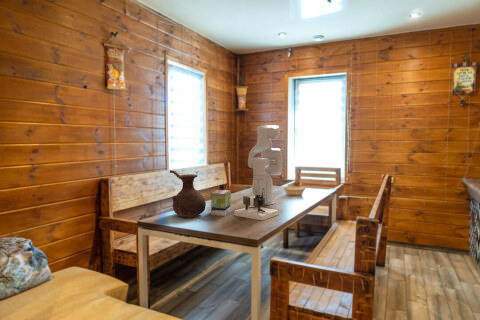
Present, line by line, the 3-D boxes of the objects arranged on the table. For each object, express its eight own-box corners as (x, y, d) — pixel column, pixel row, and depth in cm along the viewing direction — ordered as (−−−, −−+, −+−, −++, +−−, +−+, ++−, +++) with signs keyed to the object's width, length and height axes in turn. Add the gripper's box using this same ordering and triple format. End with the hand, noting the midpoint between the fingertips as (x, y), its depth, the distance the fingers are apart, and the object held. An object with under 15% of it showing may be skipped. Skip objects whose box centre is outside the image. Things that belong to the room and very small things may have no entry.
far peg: (247, 210, 205) (247, 197, 205) (243, 208, 212) (243, 196, 211) (259, 209, 209) (259, 197, 208) (255, 207, 215) (255, 195, 214)
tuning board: (251, 210, 221) (251, 205, 221) (278, 214, 207) (278, 209, 207) (234, 215, 206) (234, 210, 206) (262, 220, 192) (262, 215, 192)
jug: (187, 210, 221) (186, 167, 219) (212, 214, 210) (211, 169, 208) (164, 217, 202) (164, 170, 200) (191, 221, 191) (190, 172, 189)
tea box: (225, 216, 204) (225, 193, 203) (210, 215, 206) (210, 193, 205) (231, 211, 219) (230, 189, 218) (217, 210, 221) (216, 189, 220)
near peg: (253, 210, 205) (253, 198, 204) (263, 209, 208) (263, 197, 207) (259, 213, 197) (259, 200, 196) (269, 212, 199) (269, 199, 199)
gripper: (248, 176, 209) (248, 203, 211) (260, 178, 195) (260, 208, 196) (258, 175, 213) (258, 202, 214) (270, 178, 198) (270, 207, 200)
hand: (259, 205), depth 205 cm, fingers closed on near peg, 2 cm apart
